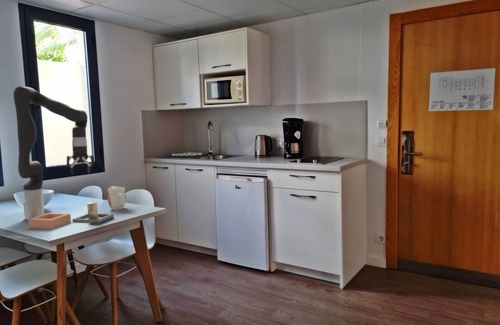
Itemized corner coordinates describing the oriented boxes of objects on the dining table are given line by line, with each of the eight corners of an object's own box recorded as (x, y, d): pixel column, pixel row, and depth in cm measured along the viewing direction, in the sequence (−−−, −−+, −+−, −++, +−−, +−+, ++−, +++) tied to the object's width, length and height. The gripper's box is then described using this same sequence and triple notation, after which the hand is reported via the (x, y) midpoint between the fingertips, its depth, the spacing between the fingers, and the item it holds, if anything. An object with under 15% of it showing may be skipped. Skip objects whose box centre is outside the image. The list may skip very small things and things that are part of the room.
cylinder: (86, 220, 207) (85, 204, 205) (92, 217, 211) (90, 202, 210) (94, 220, 206) (93, 204, 204) (100, 217, 210) (98, 202, 209)
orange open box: (29, 229, 194) (28, 219, 193) (49, 222, 208) (48, 212, 207) (51, 230, 191) (51, 220, 190) (71, 223, 204) (70, 213, 204)
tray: (72, 223, 204) (72, 219, 204) (89, 217, 217) (89, 213, 217) (98, 224, 200) (98, 220, 200) (113, 218, 214) (113, 213, 213)
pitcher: (113, 213, 226) (111, 190, 225) (105, 208, 241) (103, 187, 239) (131, 210, 232) (130, 188, 231) (122, 205, 247) (121, 185, 246)
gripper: (66, 146, 206) (67, 175, 208) (94, 145, 213) (95, 173, 215) (65, 145, 212) (66, 173, 214) (92, 144, 219) (93, 171, 221)
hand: (81, 173), depth 214 cm, fingers open, 8 cm apart
